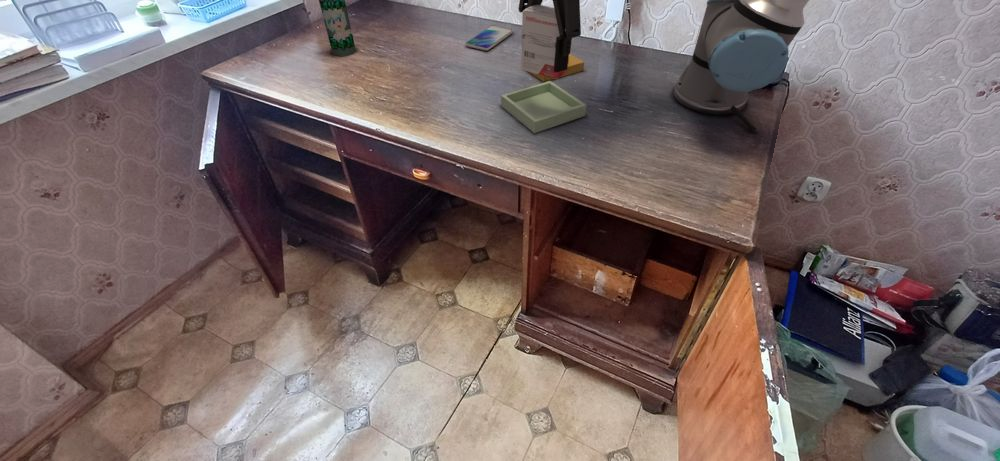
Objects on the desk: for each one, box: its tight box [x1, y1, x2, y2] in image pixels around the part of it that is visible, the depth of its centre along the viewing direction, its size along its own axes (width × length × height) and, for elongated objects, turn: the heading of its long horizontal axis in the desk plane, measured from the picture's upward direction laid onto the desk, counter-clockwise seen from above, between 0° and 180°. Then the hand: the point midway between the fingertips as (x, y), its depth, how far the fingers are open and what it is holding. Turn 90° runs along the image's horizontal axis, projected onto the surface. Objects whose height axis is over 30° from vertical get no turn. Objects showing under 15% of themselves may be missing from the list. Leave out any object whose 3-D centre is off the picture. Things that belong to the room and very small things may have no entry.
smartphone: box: [465, 25, 514, 52], centre depth 129 cm, size 7×1×15 cm
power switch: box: [528, 53, 585, 83], centre depth 114 cm, size 8×12×4 cm, turn 121°
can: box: [318, 0, 357, 57], centre depth 120 cm, size 6×6×15 cm
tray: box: [500, 80, 587, 134], centre depth 100 cm, size 13×13×3 cm
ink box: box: [520, 4, 569, 80], centre depth 91 cm, size 9×5×12 cm, turn 58°
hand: (545, 60), depth 93 cm, fingers closed on ink box, 9 cm apart
